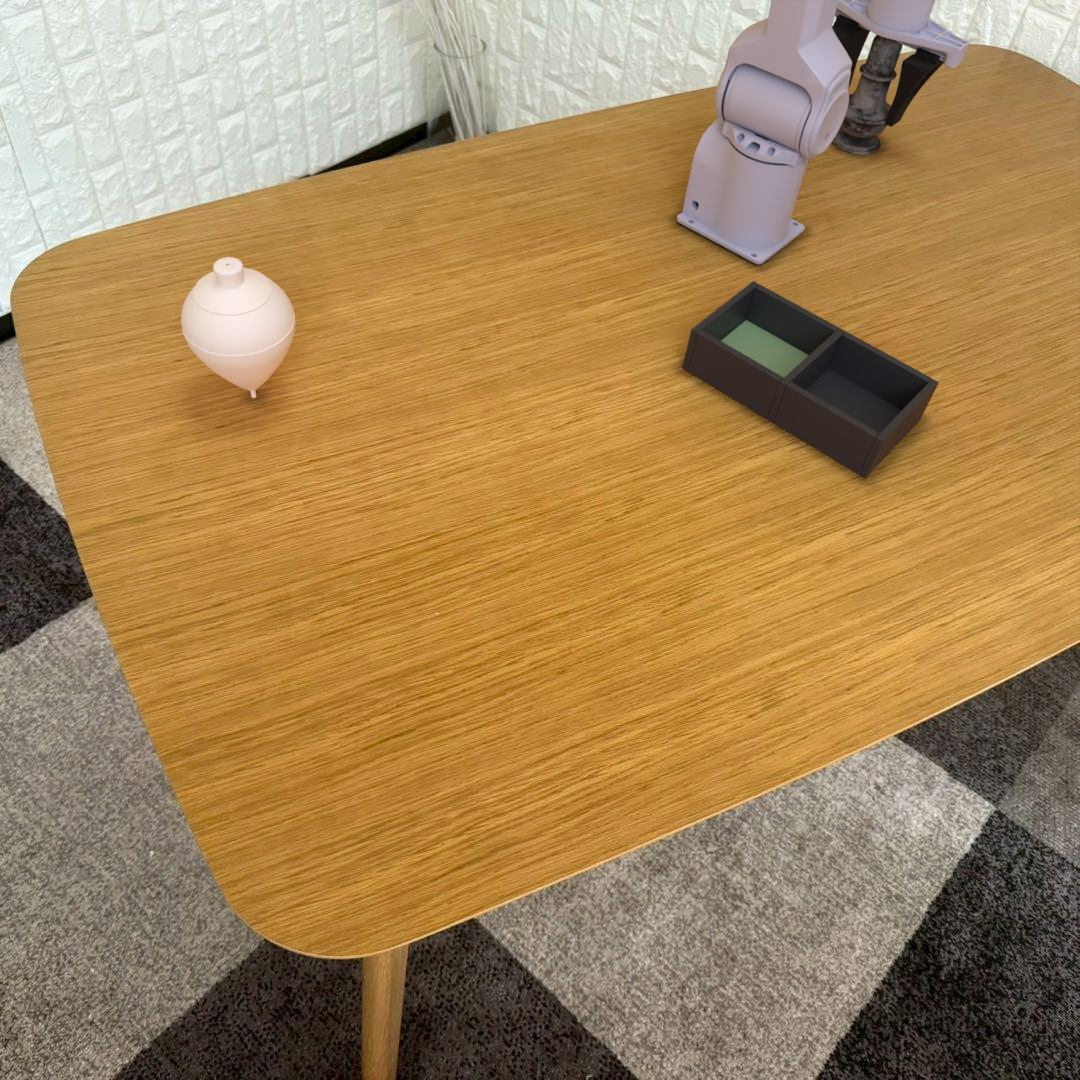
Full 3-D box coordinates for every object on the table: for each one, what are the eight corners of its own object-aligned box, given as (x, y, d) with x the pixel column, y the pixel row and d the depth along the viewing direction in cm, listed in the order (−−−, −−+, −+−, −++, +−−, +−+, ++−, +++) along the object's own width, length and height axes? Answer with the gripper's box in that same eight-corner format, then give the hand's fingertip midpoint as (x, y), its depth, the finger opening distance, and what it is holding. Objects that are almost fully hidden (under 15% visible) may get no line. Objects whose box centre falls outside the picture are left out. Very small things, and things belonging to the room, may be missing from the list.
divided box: (681, 368, 82) (690, 329, 79) (742, 319, 86) (753, 280, 83) (865, 478, 76) (883, 441, 72) (920, 419, 80) (939, 382, 77)
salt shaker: (883, 160, 104) (926, 42, 95) (826, 150, 104) (863, 32, 95) (882, 131, 108) (924, 15, 98) (827, 122, 108) (863, 5, 99)
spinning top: (296, 356, 80) (276, 223, 70) (314, 423, 75) (296, 291, 66) (195, 372, 78) (161, 237, 68) (208, 442, 73) (173, 308, 64)
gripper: (1004, -17, 92) (947, 124, 103) (865, -69, 98) (824, 70, 108) (970, 5, 89) (914, 149, 99) (828, -50, 94) (789, 92, 105)
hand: (865, 110), depth 103 cm, fingers closed on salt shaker, 6 cm apart
